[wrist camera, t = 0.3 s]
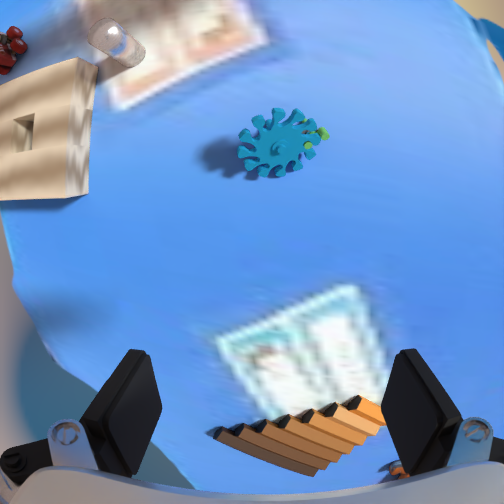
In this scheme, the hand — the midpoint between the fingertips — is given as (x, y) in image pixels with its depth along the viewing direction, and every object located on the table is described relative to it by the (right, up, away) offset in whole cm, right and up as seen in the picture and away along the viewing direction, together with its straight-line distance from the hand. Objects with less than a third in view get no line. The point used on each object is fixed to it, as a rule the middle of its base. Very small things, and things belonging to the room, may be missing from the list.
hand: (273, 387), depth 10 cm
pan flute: (+9, -28, +40) cm, 49 cm away
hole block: (-35, +24, +27) cm, 50 cm away
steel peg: (-18, +33, +23) cm, 45 cm away
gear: (+3, +19, +27) cm, 33 cm away
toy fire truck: (-47, +44, +22) cm, 69 cm away
